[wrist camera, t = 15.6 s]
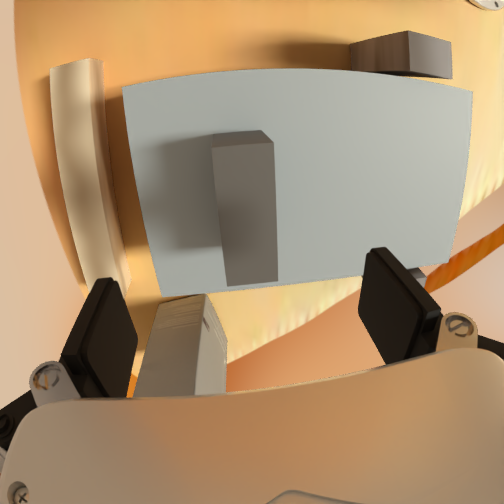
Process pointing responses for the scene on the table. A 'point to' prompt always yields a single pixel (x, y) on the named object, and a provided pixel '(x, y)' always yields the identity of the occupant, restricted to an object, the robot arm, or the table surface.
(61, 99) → the smooth beige tapered object
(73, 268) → the table surface
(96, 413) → the robot arm
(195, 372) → the skincare box
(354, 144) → the lid
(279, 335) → the table surface
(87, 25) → the table surface
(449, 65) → the brown wooden box
